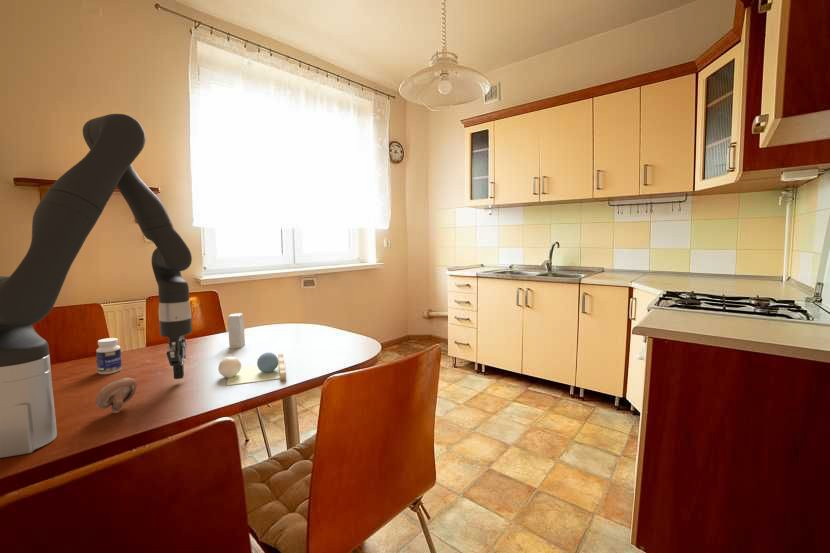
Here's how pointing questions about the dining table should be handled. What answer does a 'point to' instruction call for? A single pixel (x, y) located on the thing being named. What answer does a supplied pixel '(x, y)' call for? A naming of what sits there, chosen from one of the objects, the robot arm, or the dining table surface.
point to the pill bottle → (108, 356)
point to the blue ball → (267, 362)
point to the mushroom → (116, 394)
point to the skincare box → (236, 330)
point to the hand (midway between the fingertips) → (179, 377)
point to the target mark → (253, 375)
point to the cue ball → (229, 367)
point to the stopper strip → (281, 367)
